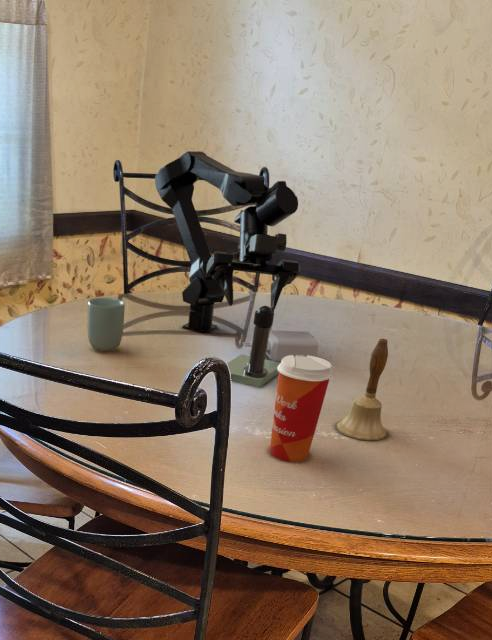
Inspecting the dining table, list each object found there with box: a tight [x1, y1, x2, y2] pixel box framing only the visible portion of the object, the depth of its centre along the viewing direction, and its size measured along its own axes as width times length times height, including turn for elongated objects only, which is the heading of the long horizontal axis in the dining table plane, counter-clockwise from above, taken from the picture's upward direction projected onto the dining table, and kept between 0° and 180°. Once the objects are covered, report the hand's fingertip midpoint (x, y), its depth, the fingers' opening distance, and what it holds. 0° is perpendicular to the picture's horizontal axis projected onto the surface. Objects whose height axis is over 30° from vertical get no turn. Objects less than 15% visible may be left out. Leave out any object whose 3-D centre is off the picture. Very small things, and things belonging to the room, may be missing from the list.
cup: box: [86, 297, 126, 352], centre depth 153 cm, size 8×8×10 cm
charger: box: [242, 330, 320, 362], centre depth 155 cm, size 5×9×15 cm
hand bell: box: [336, 338, 389, 442], centre depth 119 cm, size 8×8×16 cm
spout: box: [253, 305, 275, 331], centre depth 139 cm, size 10×4×6 cm, turn 162°
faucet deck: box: [227, 324, 281, 388], centre depth 143 cm, size 13×10×11 cm
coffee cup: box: [269, 355, 334, 463], centre depth 110 cm, size 8×8×15 cm
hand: (252, 307), depth 148 cm, fingers open, 9 cm apart
